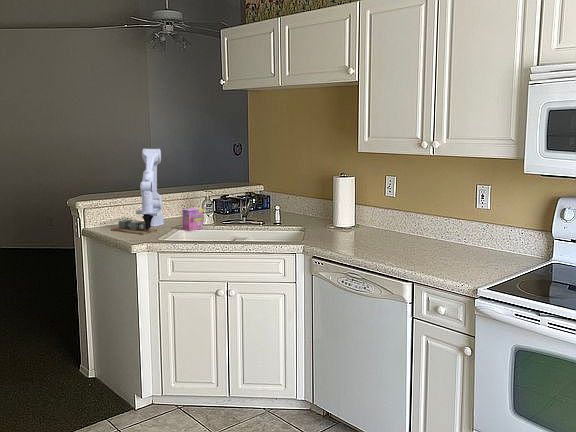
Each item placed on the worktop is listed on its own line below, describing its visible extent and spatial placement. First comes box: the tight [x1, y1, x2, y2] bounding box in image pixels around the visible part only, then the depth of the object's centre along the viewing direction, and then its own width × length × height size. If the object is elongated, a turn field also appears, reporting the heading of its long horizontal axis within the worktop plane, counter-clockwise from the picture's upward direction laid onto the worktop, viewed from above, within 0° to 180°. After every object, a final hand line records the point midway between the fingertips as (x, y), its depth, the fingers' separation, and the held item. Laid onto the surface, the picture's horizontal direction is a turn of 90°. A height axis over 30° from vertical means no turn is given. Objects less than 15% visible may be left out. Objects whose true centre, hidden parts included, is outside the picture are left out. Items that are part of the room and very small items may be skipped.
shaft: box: [117, 221, 150, 231], centre depth 320 cm, size 4×20×4 cm, turn 64°
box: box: [182, 206, 204, 232], centre depth 326 cm, size 10×6×12 cm, turn 143°
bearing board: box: [110, 219, 158, 236], centre depth 320 cm, size 12×22×5 cm, turn 64°
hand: (148, 228), depth 316 cm, fingers closed, pressing on shaft
